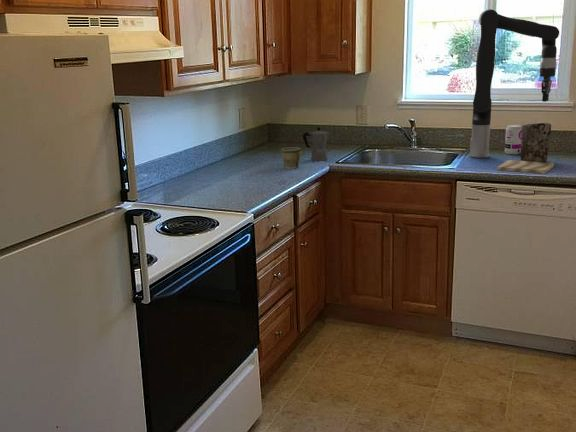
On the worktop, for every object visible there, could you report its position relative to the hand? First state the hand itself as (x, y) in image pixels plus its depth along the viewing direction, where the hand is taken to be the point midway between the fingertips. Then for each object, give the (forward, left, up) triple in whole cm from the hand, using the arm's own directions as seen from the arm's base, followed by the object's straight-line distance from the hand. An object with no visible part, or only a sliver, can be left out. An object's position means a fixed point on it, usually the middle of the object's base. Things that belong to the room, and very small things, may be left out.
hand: (545, 100), depth 325 cm
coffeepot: (-104, -57, -29) cm, 122 cm away
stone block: (0, -17, -29) cm, 34 cm away
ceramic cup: (-104, -81, -29) cm, 135 cm away
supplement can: (-16, +4, -29) cm, 34 cm away
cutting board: (0, -34, -29) cm, 45 cm away
